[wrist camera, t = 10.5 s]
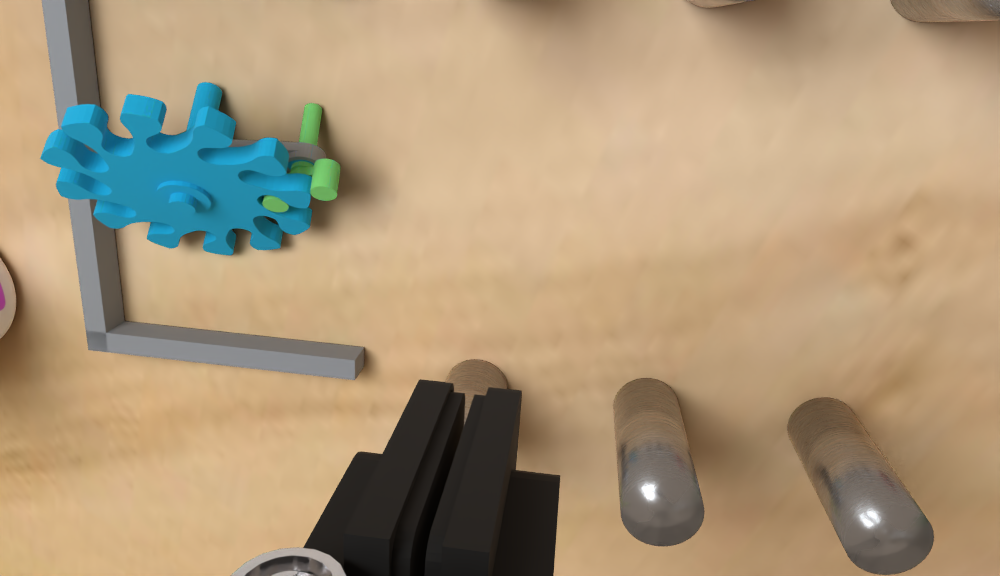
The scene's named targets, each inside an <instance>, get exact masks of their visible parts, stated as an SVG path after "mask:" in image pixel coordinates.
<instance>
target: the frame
mask: <svg viewBox="0 0 1000 576" xmlns="http://www.w3.org/2000/svg"><path fill="white" fill-rule="evenodd" d="M42 7H43V14H44V22H45V29H46V37H47V44H48V52H49V59H50V67H51V74H52V82H53V89H54V96H55V104H56V111H57V119H58V126H59V129H61V130H62V128H61V125H62V122H63V119H64V116H65V113H66V110H67V108H68V107H72V106H76V105H82V104H94V105H97V106H99V107H100V99H99V91H98V82H97V73H96V64H95V56H94V47H93V38H92V29H91V20H90V12H89V3H88V0H42ZM83 144H84V143H83ZM84 145H85V144H84ZM85 146H86V147H87V148H88V149H89V150H91V151H92V152H95V153H97V152H96V151H95V150H93V149H92V148H90V147H89V146H87V145H85ZM97 154H98V153H97ZM68 201H69V209H70V216H71V224H72V231H73V238H74V246H75V253H76V261H77V268H78V276H79V283H80V291H81V298H82V306H83V313H84V321H85V328H86V336H87V343H88V350H93V351H102V352H111V353H119V354H128V355H137V356H146V357H155V358H164V359H172V360H181V361H190V362H199V363H208V364H217V365H226V366H234V367H243V368H252V369H261V370H270V371H279V372H288V373H296V374H305V375H314V376H323V377H332V378H341V379H350V380H355V379H356V378H357V376H358V375H359V373H360V372H361V370H362V369H363V367H364V347H358V346H349V345H339V344H330V343H321V342H312V341H303V340H294V339H284V338H275V337H266V336H257V335H248V334H239V333H229V332H220V331H211V330H202V329H193V328H184V327H174V326H165V325H156V324H147V323H138V322H129V321H125V319H124V310H123V301H122V293H121V284H120V275H119V266H118V257H117V249H116V240H115V231H114V228H109V227H107V226H106V225H104V224H103V223H101V222H100V221H99V220H97V219H96V218H95V217H94V215H93V213H94V210H95V206H96V203H97V200H96V199H82V200H74V199H69V198H68Z"/></svg>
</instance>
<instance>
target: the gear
mask: <svg viewBox="0 0 1000 576" xmlns="http://www.w3.org/2000/svg"><path fill="white" fill-rule="evenodd" d="M221 97H222V91H221V89H220V88H219V87H218V86H216V85H214V84H212V83H207V82H204V83H200V84H198V86H197V90H196V94H195V98H194V102H193V106H192V110H191V114H190V118H189V122H188V126H187V130H186V131H185V132H183V133H180V134H178V135H166V134H163V133H160V131H161V129H162V125H163V121H164V118H165V114H166V110H167V109H166V106H165V104H164V103H163V102H162V101H159V100H157V99H153V98H150V97H145V96H140V95H132V94H128V95H127V96H126V99H125V102H124V106H123V109H122V112H121V116H120V120H121V122H122V124H123V125H124V126H125V127H126V128H127V129H128V130H129V131H130V133H131V134H132V136H133V138H130V139H128V138H122V137H119V136H116V135H114V134H113V133H111V132H110V131H109V130H108V128H107V123H108V115H107V113H106V112H105V111H104V110H103V109H102V108H100V107H99V106H97V105H94V104H82V105H76V106H72V107H68V108H67V110H66V113H65V116H64V119H63V122H62V125H61V128H62V130H61V129H58V130H55V131H53V132H52V133H51V134H50V135H49V137H48V139H47V141H46V144H45V147H44V149H43V152H42V155H41V158H40V159H42V160H43V161H45V162H46V163H48V164H51V165H53V166H57V167H61V171H60V174H59V177H58V180H57V183H56V187H57V190H58V192H59V193H60V195H61V196H63V197H65V198H69V199H74V200H82V199H96V200H97V203H96V206H95V210H94V213H93V215H94V217H95V218H96V219H97V220H99V221H100V222H101V223H103V224H104V225H106V226H107V227H109V228H115V229H119V228H123V227H125V226H126V225H129V224H131V223H136V222H151V224H150V227H149V231H148V235H147V239H148V240H150V241H151V242H154V243H156V244H159V245H161V246H164V247H167V248H175V247H177V246H178V245H179V241H180V238H181V236H183V235H185V234H187V233H190V232H193V231H197V230H201V231H206V235H205V239H204V244H203V249H204V250H205V251H207V252H210V253H215V254H222V255H232V254H233V251H234V246H235V241H236V234H235V233H234V232H233V231H232V229H234V228H241V229H245V230H248V231H250V232H251V233H252V234H251V240H250V244H251V246H252V247H253V248H255V249H257V250H271V249H278V248H280V246H281V240H282V234H283V231H284V232H286V233H289V234H292V235H296V234H300V233H302V232H304V231H306V230H307V229H308V228H309V227H310V224H311V217H312V210H311V209H310V208H309V207H308V206H309V204H310V200H311V195H312V196H313V197H314V198H316V199H319V200H323V201H330V200H334V199H335V198H336V197H337V191H338V184H339V176H340V169H341V168H340V165H339V164H338V163H337V162H336V161H334V160H331V159H326V154H325V152H324V151H323V150H322V149H321V148H319V147H318V146H317V142H318V135H319V128H320V122H321V115H322V108H321V107H320V106H319V105H317V104H314V103H309V104H306V105H305V108H304V114H303V120H302V126H301V132H300V138H299V142H282V141H279V140H278V139H277V138H263V139H260V140H236V139H233V136H234V131H235V126H236V121H235V120H233V119H232V118H231V117H229V116H228V115H226V114H224V113H222V112H220V111H218V110H219V106H220V101H221ZM83 143H84V144H85V145H87V146H89V147H90V148H92V149H93V150H95V151H96V152H97V153H98V154H97V153H95V152H92V151H91V150H89V149H88V148H87V147H86V146H85V145H84V144H83ZM263 216H267V217H271V218H273V219H275V220H276V221H277V222H278V224H279V226H278V225H276V224H274V223H272V222H271V221H269V220H267V219H266V218H265V217H263Z"/></svg>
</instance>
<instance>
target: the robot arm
mask: <svg viewBox="0 0 1000 576" xmlns="http://www.w3.org/2000/svg"><path fill="white" fill-rule="evenodd" d="M521 397H522V391H519V390H510V389H501V388H492V387H488V390H487V393H486V396H485V395H476V394H475V395H474V397H473V400H472V403H471V406H470V410H469V413H468V416H467V419H466V422H465V425H464V418H465V393H458V392H454V384H453V383H447V382H438V381H429V380H419V382H418V383H417V385H416V387H415V389H414V391H413V393H412V395H411V397H410V400H409V402H408V404H407V406H406V408H405V410H404V412H403V414H402V416H401V418H400V420H399V422H398V424H397V426H396V428H395V430H394V432H393V434H392V436H391V438H390V440H389V442H388V444H387V446H386V448H385V450H384V452H383V454H377V453H369V452H358V453H357V454H356V455H355V457H354V458H353V460H352V461H351V463H350V465H349V467H348V469H347V470H346V472H345V474H344V476H343V478H342V479H341V481H340V483H339V485H338V487H337V488H336V490H335V492H334V494H333V495H332V497H331V499H330V501H329V503H328V504H327V506H326V508H325V510H324V512H323V513H322V515H321V517H320V519H319V521H318V522H317V524H316V526H315V528H314V530H313V531H312V533H311V535H310V537H309V538H308V540H307V542H306V544H305V546H304V547H303V548H299V547H297V548H285V549H278V550H274V551H271V552H267V553H264V554H261V555H259V556H257V557H255V558H253V559H251V560H249V561H247V562H246V563H244V564H243V565H242V566H241V567H240V568H239V569H237V570H236V571H235V572H234V573H233V574H232V575H231V576H553V573H554V558H555V544H556V529H557V515H558V501H559V486H560V475H552V474H543V473H535V472H527V471H518V470H516V460H517V447H518V435H519V423H520V410H521Z"/></svg>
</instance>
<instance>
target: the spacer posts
mask: <svg viewBox="0 0 1000 576" xmlns="http://www.w3.org/2000/svg"><path fill="white" fill-rule="evenodd" d="M687 1H688V2H690V3H691V4H694V5H696V6H699V7H704V8H713V7H719V6H725V5H730V4H736V3H742V2H747V1H753V0H687ZM890 1H891V3H892V5H893V7H894V8H895V9H896V11H897V12H898V13H899V14H900V15H902V16H903V17H905V18H907V19H909V20H912V21H915V22H956V21H997V20H1000V0H890ZM445 382H447V383H453V384H454V392H458V393H465V418H464V425H465V422H466V419H467V416H468V413H469V410H470V406H471V403H472V400H473V397H474V395H475V394H476V395H485V396H486V393H487V390H488V387H492V388H501V389H508V385H507V381H506V379H505V377H504V375H503V373H502V372H501V371H500V370H499V369H498V368H497V367H496V366H494V365H493V364H491V363H489V362H486V361H483V360H475V359H474V360H466V361H463V362H461V363H459V364H457V365H456V366H455V367H454V368H453V369H452V370H451V371H450V373H449V374H448V377H447V379H446V381H445ZM613 409H614V423H615V437H616V452H617V466H618V480H619V494H620V509H621V518H622V521H623V524H624V526H625V527H626V529H627V530H628V531H629V533H630V534H631V535H632V536H634V537H635V538H636V539H638V540H640V541H642V542H644V543H646V544H650V545H654V546H672V545H676V544H679V543H682V542H684V541H686V540H688V539H689V538H691V537H692V536H693V535H694V534H695V533H696V532H697V531H698V530H699V528H700V526H701V524H702V522H703V519H704V505H703V501H702V497H701V493H700V489H699V485H698V481H697V477H696V473H695V468H694V464H693V460H692V456H691V452H690V448H689V444H688V440H687V436H686V432H685V428H684V424H683V420H682V415H681V411H680V407H679V403H678V399H677V397H676V395H675V393H674V391H673V390H672V389H671V388H670V387H669V386H668V385H667V384H665V383H663V382H661V381H659V380H656V379H651V378H641V379H636V380H633V381H631V382H629V383H627V384H626V385H624V386H623V387H622V388H621V389H620V390H619V392H618V393H617V395H616V397H615V400H614V405H613ZM788 435H789V438H790V440H791V442H792V444H793V446H794V448H795V450H796V452H797V454H798V456H799V458H800V460H801V462H802V464H803V466H804V468H805V470H806V472H807V474H808V476H809V478H810V480H811V482H812V485H813V487H814V489H815V491H816V493H817V495H818V497H819V499H820V501H821V503H822V505H823V507H824V509H825V511H826V513H827V515H828V517H829V519H830V521H831V523H832V525H833V527H834V529H835V531H836V533H837V535H838V537H839V539H840V541H841V543H842V545H843V547H844V549H845V551H846V553H847V555H848V557H849V558H850V560H851V561H852V562H853V563H854V564H855V565H856V566H858V567H859V568H861V569H863V570H865V571H867V572H870V573H874V574H882V575H890V574H897V573H901V572H904V571H907V570H909V569H912V568H913V567H915V566H917V565H918V564H919V563H921V562H922V561H923V560H924V559H925V558H926V556H927V555H928V554H929V552H930V550H931V548H932V545H933V541H934V534H933V529H932V526H931V524H930V522H929V521H928V519H927V518H926V517H925V515H924V514H923V512H922V511H921V509H920V508H919V507H918V505H917V504H916V502H915V501H914V499H913V498H912V496H911V495H910V494H909V492H908V491H907V489H906V488H905V486H904V485H903V484H902V482H901V481H900V479H899V478H898V476H897V475H896V474H895V472H894V471H893V469H892V468H891V466H890V465H889V463H888V462H887V461H886V459H885V458H884V456H883V455H882V453H881V452H880V451H879V449H878V448H877V446H876V445H875V443H874V442H873V440H872V439H871V438H870V436H869V435H868V433H867V432H866V430H865V429H864V428H863V426H862V425H861V423H860V422H859V420H858V419H857V417H856V416H855V415H854V413H853V412H852V410H851V409H850V408H849V407H848V406H847V405H846V404H844V403H843V402H841V401H839V400H836V399H833V398H816V399H812V400H809V401H807V402H805V403H803V404H802V405H800V406H799V407H798V408H797V409H796V410H795V411H794V412H793V413H792V415H791V417H790V419H789V422H788Z"/></svg>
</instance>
